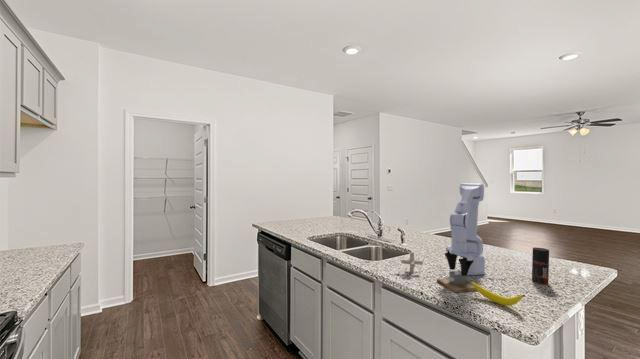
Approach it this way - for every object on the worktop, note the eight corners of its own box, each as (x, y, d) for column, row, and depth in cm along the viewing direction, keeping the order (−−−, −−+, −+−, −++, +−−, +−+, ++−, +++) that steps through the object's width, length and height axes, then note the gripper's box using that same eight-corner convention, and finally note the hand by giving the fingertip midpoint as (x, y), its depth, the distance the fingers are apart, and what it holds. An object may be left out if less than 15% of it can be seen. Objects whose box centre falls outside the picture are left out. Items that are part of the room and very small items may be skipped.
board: (460, 279, 131) (460, 277, 131) (480, 290, 119) (480, 287, 119) (437, 281, 128) (437, 279, 128) (454, 292, 116) (455, 289, 116)
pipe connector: (424, 276, 134) (424, 255, 134) (401, 275, 136) (402, 254, 136) (420, 270, 144) (421, 250, 143) (400, 268, 146) (400, 248, 145)
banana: (472, 292, 116) (473, 277, 116) (526, 312, 100) (526, 294, 100) (468, 294, 115) (469, 278, 115) (522, 314, 99) (522, 296, 99)
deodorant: (541, 285, 125) (542, 251, 125) (528, 280, 131) (529, 247, 131) (551, 284, 127) (552, 250, 127) (538, 279, 133) (539, 247, 132)
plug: (463, 280, 126) (463, 270, 126) (469, 284, 122) (469, 273, 122) (444, 282, 124) (444, 271, 124) (450, 285, 120) (450, 275, 120)
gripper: (440, 237, 129) (439, 267, 130) (462, 245, 115) (461, 279, 116) (453, 237, 131) (453, 266, 131) (477, 244, 117) (476, 277, 117)
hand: (458, 272), depth 123 cm, fingers open, 7 cm apart
